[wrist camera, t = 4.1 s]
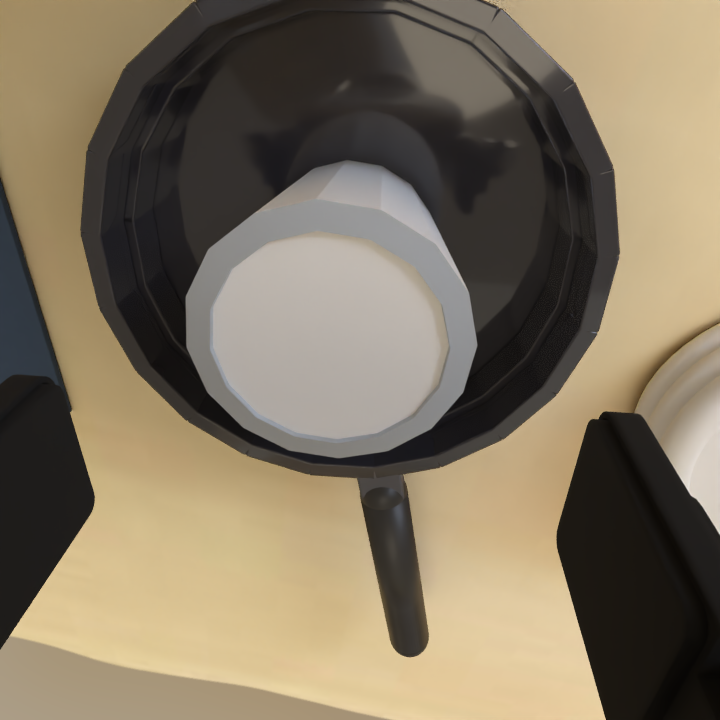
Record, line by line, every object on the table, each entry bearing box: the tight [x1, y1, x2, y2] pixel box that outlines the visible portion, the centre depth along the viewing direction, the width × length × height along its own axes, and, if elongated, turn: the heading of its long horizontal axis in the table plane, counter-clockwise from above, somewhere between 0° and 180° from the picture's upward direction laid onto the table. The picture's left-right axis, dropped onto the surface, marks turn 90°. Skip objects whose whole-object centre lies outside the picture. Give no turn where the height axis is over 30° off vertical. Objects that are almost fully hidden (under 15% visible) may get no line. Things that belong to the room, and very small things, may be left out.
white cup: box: [186, 160, 477, 458], centre depth 16 cm, size 7×7×7 cm
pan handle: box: [357, 472, 429, 657], centre depth 23 cm, size 12×2×2 cm, turn 9°
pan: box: [81, 0, 620, 479], centre depth 18 cm, size 15×15×4 cm
